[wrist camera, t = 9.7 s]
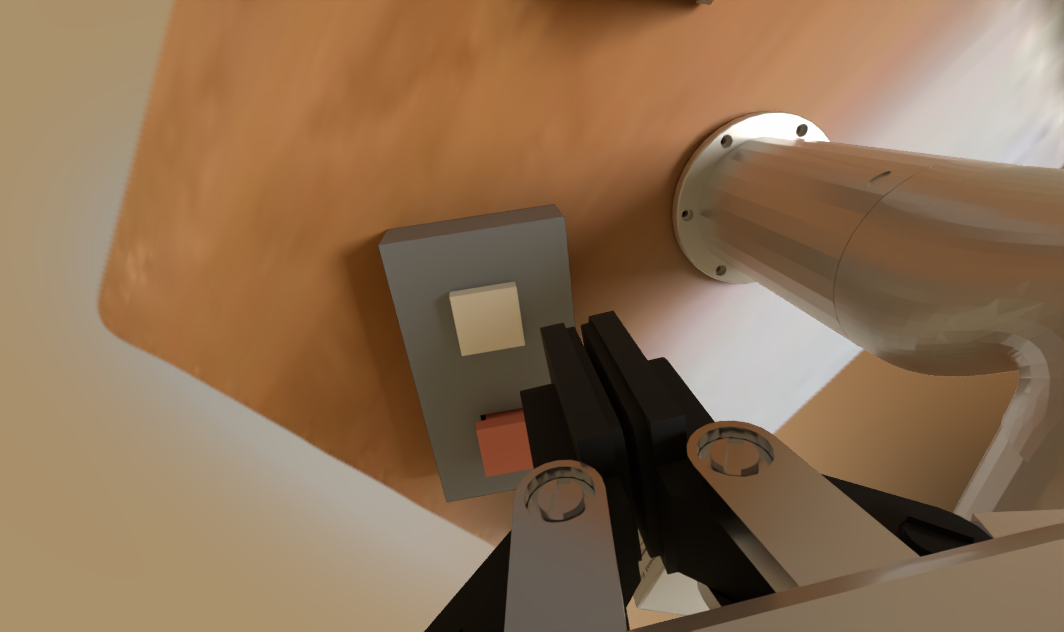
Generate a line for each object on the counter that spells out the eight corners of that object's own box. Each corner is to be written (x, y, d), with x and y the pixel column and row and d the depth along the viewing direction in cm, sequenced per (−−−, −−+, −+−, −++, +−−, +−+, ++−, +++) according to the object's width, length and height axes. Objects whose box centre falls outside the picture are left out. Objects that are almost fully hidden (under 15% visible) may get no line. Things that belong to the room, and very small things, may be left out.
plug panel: (554, 204, 35) (564, 216, 32) (579, 444, 44) (589, 475, 41) (387, 229, 34) (378, 245, 31) (447, 469, 44) (446, 502, 40)
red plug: (529, 389, 39) (536, 419, 35) (536, 433, 41) (543, 466, 37) (474, 399, 39) (476, 430, 35) (484, 443, 40) (486, 477, 37)
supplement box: (694, 444, 46) (770, 557, 35) (659, 501, 49) (719, 625, 37) (626, 426, 44) (684, 540, 33) (593, 487, 47) (635, 613, 35)
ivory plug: (510, 267, 36) (516, 286, 32) (519, 321, 37) (525, 345, 34) (450, 276, 35) (449, 297, 32) (461, 330, 37) (461, 356, 33)
